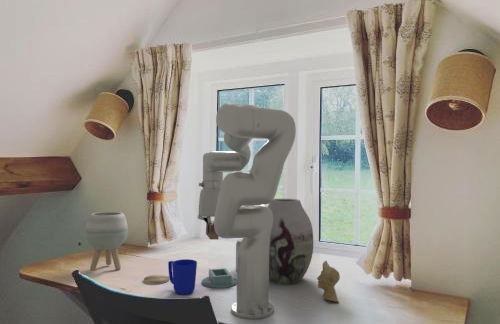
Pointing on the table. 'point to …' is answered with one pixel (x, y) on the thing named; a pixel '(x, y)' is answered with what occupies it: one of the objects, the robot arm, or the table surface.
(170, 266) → the mug
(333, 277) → the tan head bust
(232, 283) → the teal candle holder
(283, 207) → the vase
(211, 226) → the block
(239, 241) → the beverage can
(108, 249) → the planter
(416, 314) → the table surface
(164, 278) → the cork lid
